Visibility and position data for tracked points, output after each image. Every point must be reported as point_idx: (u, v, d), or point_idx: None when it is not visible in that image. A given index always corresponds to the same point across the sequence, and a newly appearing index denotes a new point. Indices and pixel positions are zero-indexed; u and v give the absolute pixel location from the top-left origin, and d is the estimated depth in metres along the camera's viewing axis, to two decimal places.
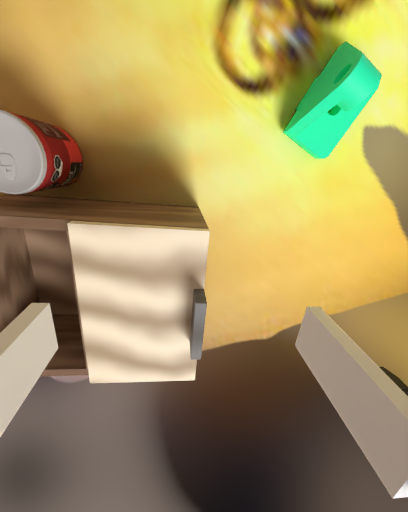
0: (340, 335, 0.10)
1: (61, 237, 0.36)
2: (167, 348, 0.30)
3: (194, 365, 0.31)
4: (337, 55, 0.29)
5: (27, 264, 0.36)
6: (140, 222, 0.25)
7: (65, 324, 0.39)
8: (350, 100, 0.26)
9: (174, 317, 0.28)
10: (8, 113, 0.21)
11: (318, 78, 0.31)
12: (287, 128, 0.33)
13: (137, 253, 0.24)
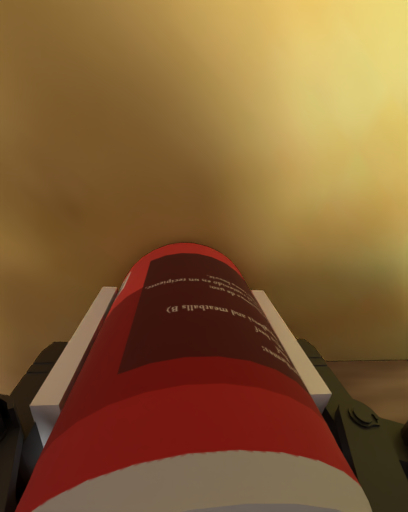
0: (271, 313, 0.11)
1: None
2: None
3: None
4: None
5: None
6: None
7: None
8: None
9: None
10: (302, 488, 0.03)
11: None
12: None
13: None
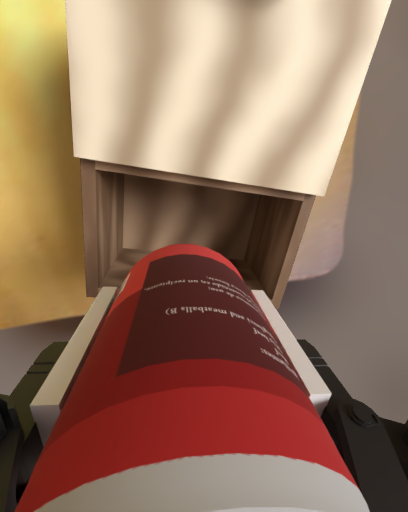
0: (271, 312, 0.11)
1: (157, 218, 0.34)
2: (300, 45, 0.17)
3: None
4: None
5: None
6: None
7: (256, 236, 0.34)
8: None
9: (238, 14, 0.16)
10: (299, 491, 0.03)
11: None
12: None
13: (112, 61, 0.16)
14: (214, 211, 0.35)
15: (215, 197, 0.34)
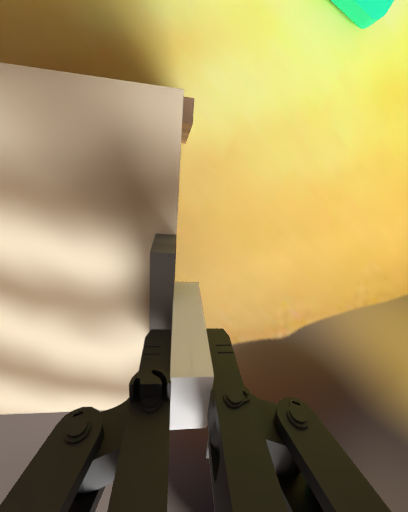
0: (194, 303, 0.11)
1: None
2: (113, 353, 0.16)
3: None
4: None
5: None
6: None
7: None
8: None
9: (120, 293, 0.14)
10: None
11: None
12: None
13: (19, 138, 0.11)
14: None
15: None
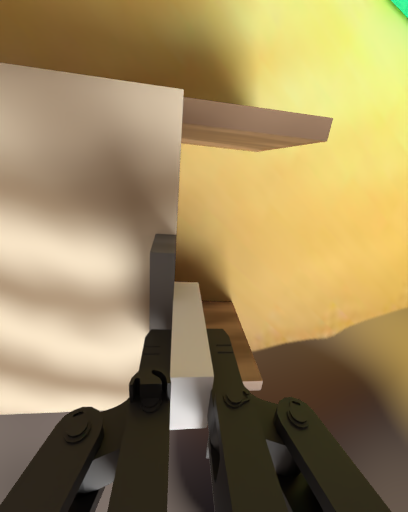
0: (194, 303, 0.11)
1: None
2: (113, 353, 0.16)
3: None
4: None
5: None
6: None
7: None
8: None
9: (120, 293, 0.14)
10: None
11: None
12: None
13: (19, 138, 0.11)
14: None
15: None
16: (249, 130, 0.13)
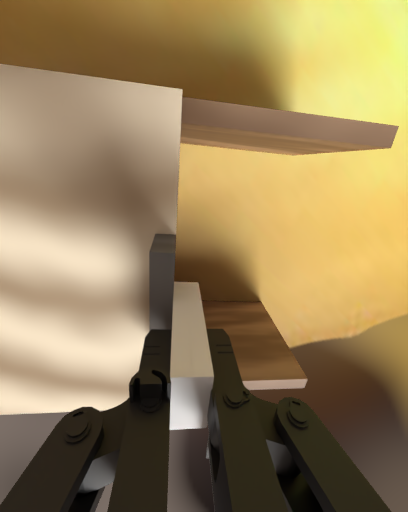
0: (194, 303, 0.11)
1: None
2: (113, 353, 0.16)
3: None
4: None
5: None
6: None
7: None
8: None
9: (120, 293, 0.14)
10: None
11: None
12: None
13: (19, 139, 0.11)
14: None
15: None
16: (319, 138, 0.13)
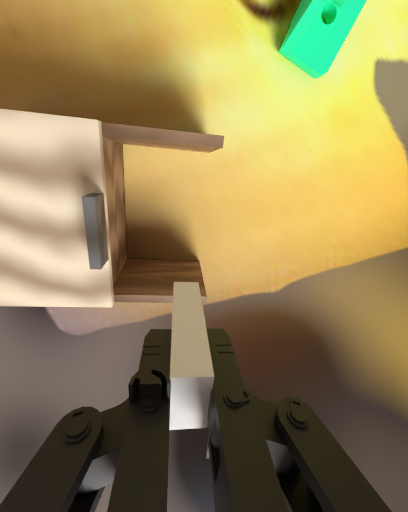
0: (194, 303, 0.11)
1: None
2: (75, 266, 0.28)
3: (109, 289, 0.30)
4: None
5: None
6: None
7: None
8: None
9: (76, 227, 0.26)
10: None
11: None
12: (282, 45, 0.32)
13: (20, 143, 0.23)
14: None
15: None
16: (180, 142, 0.25)
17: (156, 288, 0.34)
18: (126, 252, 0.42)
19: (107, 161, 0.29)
